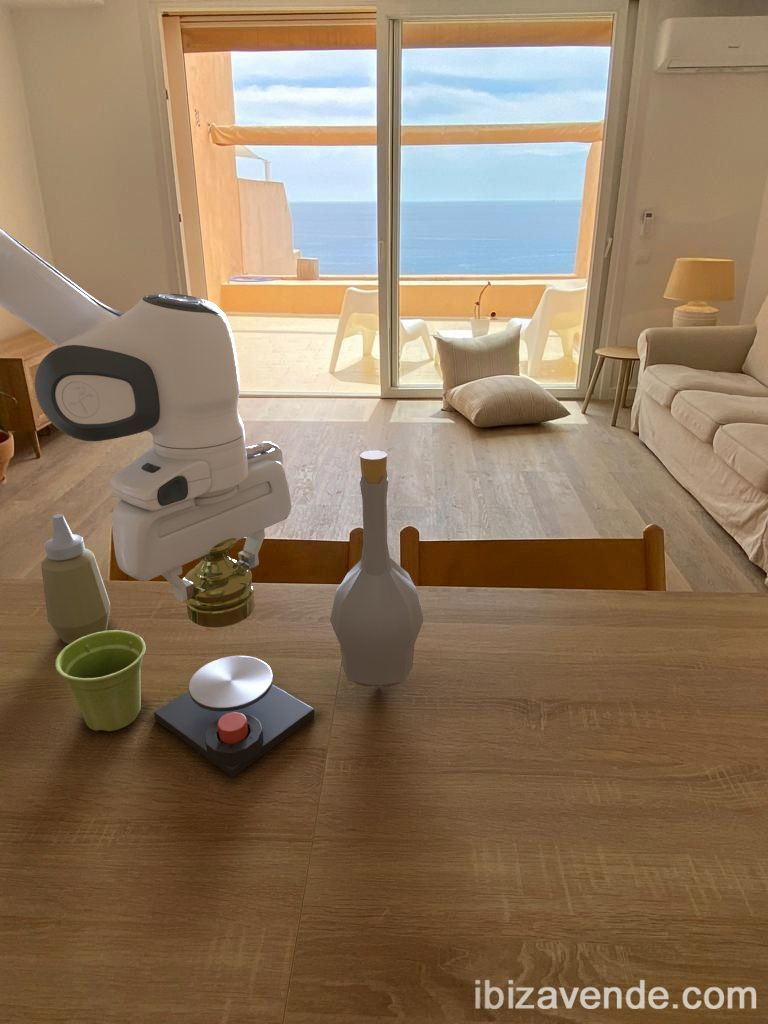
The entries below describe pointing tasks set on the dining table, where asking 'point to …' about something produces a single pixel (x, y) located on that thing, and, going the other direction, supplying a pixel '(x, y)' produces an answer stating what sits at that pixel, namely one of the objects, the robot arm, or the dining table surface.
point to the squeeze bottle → (73, 585)
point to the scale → (264, 723)
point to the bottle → (376, 595)
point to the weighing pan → (230, 683)
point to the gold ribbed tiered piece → (220, 589)
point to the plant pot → (105, 677)
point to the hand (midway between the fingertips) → (217, 582)
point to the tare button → (232, 728)
